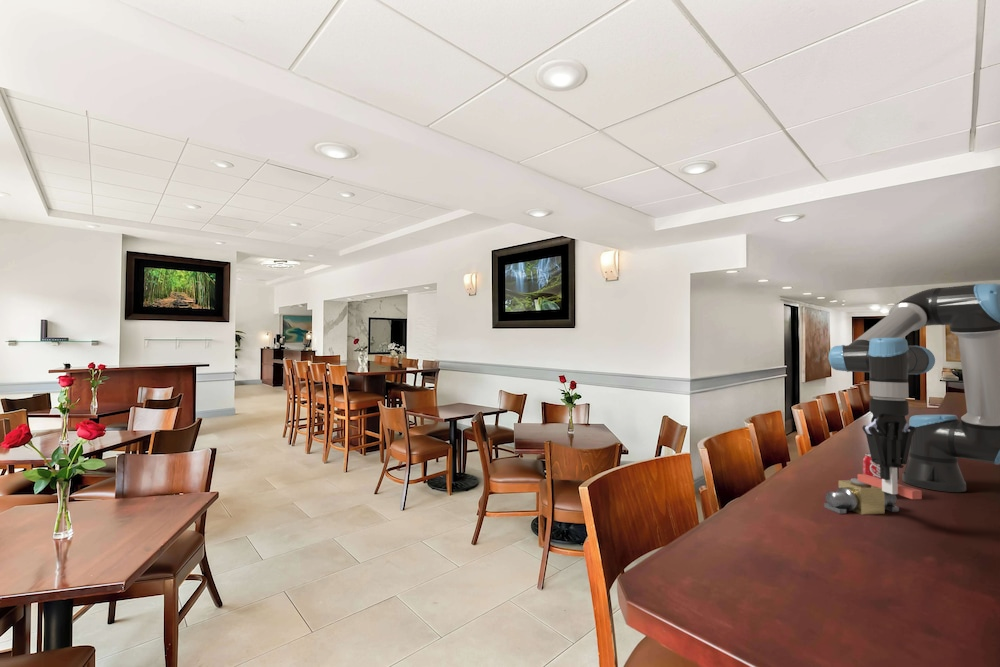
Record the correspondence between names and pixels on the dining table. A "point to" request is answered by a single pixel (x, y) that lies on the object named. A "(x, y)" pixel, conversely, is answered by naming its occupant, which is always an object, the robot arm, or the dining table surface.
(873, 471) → the soda can
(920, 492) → the lever
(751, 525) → the dining table surface
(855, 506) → the valve
